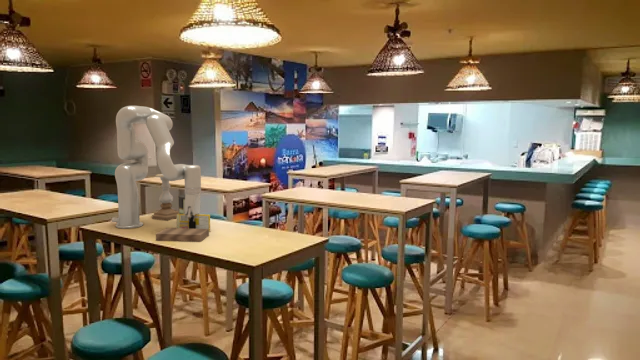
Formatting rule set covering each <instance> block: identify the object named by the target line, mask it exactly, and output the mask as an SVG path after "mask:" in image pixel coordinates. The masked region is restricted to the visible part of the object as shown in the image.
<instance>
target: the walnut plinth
mask: <svg viewBox="0 0 640 360" xmlns="http://www.w3.org/2000/svg"><path fill="white" fill-rule="evenodd" d="M209 236H210V232H209V229H191V228H177V227H165V228H164V229H162V230H161V231H158V232H156V233H155V241H157V242H158V241H160V242H162V241H163V242H190V243H191V242H192V243H193V242H194V243H195V242H196V243H201V242H202V241H203V240H205V239H206V238H208V237H209Z"/></svg>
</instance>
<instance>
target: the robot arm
mask: <svg viewBox="0 0 640 360" xmlns="http://www.w3.org/2000/svg"><path fill="white" fill-rule="evenodd" d="M134 124H145V126H146V128H147V130H148V132H149V134H150V136H151V139H152V140H153V143H154V145H155V146H156V164H157V166H158V168H159V170H160V174H163V176H164V177H165V178H166V179H167V180H168V181H169V182H175V181H180V180H184V195H185V212H184V213H185V215H188V216H187V218H188V219H189V228H191V229H196V221H195V215H196V214H200V212H201V208H202V207H201V203H202V202H201V194H202V182H201V181H202V179H201V178H202V177H201V176H202V174H201V173H202V170H201V169H202V168H201V166H200V165H199V164H198V165H197V164H185V163H177V164H174V163H173V160H172V158H171V149H172V147H173V146H174V144H175V140H174V138H173V137H172V134H171V132H170V131H171V130H172V128H173V126H174V122H173V120H172V119H171V117H170V116H169V115H167V114H166V113H163V112H160V111H159V110H156V109H154V108H152V107H149V106H142V105H141V106H140V105H126V106H124V107H123V106H122V107H121V108H120V109H119V110H118V112H117V113H116V116H115V125H116V126H115V127H116V145H117V146H116V147H117V148H116V149H117V156H118V158H119V159H120V160H123V161H130V162H124V163H121V164H119V165H118V166H117V167H116V168H115V171H114V177H115V181H116V187H117V202H118V203H117V205H118V207H117V208H118V217H112V218H111V223H116V224H115V227H116V228H118V229H136V228H140V227H142V226H143V225H144V222H143V221H140V195H139V193H140V192H139V187H138V184H137V182H139V181H142V180H144V179H145V178H147V176H148V173H149V154H148V153H149V152H148V148H147V145H146V144H145V143H144V142H143V141H141V140H137V134H136V133H137V132H136V129H135V126H134ZM191 214H192V215H191ZM191 216H193V217H191Z"/></svg>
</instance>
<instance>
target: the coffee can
mask: <svg viewBox="0 0 640 360" xmlns="http://www.w3.org/2000/svg"><path fill="white" fill-rule="evenodd" d="M178 212H179V214H185V213H184V212H185V194H180V195H178Z"/></svg>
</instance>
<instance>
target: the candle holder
mask: <svg viewBox="0 0 640 360" xmlns="http://www.w3.org/2000/svg"><path fill="white" fill-rule="evenodd" d="M155 177H156V178H159V179H160V181H161V182H162V183H161V185H160V188H161V189H162V192H161V194H160V196H159V198H158V201H159V202H160V203H161V204H160V209H158V211H155V212H153V215H151V218H152V219H153V220H160V221H167V222H168V221H172V220H177V214H179V210H175V209H173V208H172V207H173V204H172V202H173V200H174V197H173V195H172V193H171V192H170V189H171V184H170V181H168V180H167V179H166V178H165V177H164V176H163V174H162V173H157V174H155Z"/></svg>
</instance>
